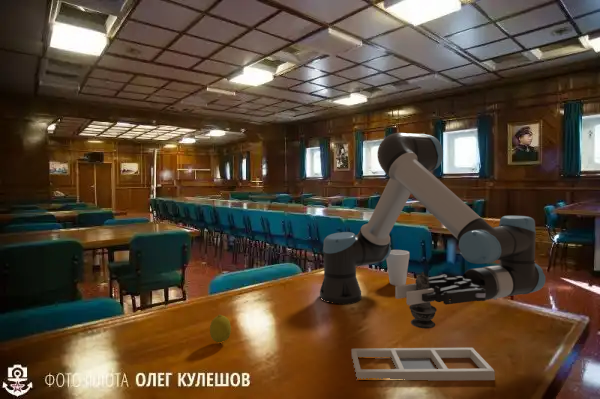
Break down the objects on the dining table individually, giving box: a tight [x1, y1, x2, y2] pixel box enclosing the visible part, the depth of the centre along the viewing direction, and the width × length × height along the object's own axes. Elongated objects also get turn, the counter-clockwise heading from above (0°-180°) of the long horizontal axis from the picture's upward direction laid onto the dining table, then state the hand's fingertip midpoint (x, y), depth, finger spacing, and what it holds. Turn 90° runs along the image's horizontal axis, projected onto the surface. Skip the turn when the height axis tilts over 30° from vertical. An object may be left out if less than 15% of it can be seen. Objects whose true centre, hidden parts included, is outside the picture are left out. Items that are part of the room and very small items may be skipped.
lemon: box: [209, 314, 232, 343], centre depth 95 cm, size 6×6×8 cm
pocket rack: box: [350, 347, 496, 381], centre depth 80 cm, size 29×10×2 cm, turn 88°
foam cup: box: [385, 249, 410, 286], centre depth 144 cm, size 10×9×13 cm
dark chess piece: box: [408, 271, 438, 330], centre depth 79 cm, size 6×6×12 cm
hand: (402, 295), depth 78 cm, fingers closed on dark chess piece, 4 cm apart
